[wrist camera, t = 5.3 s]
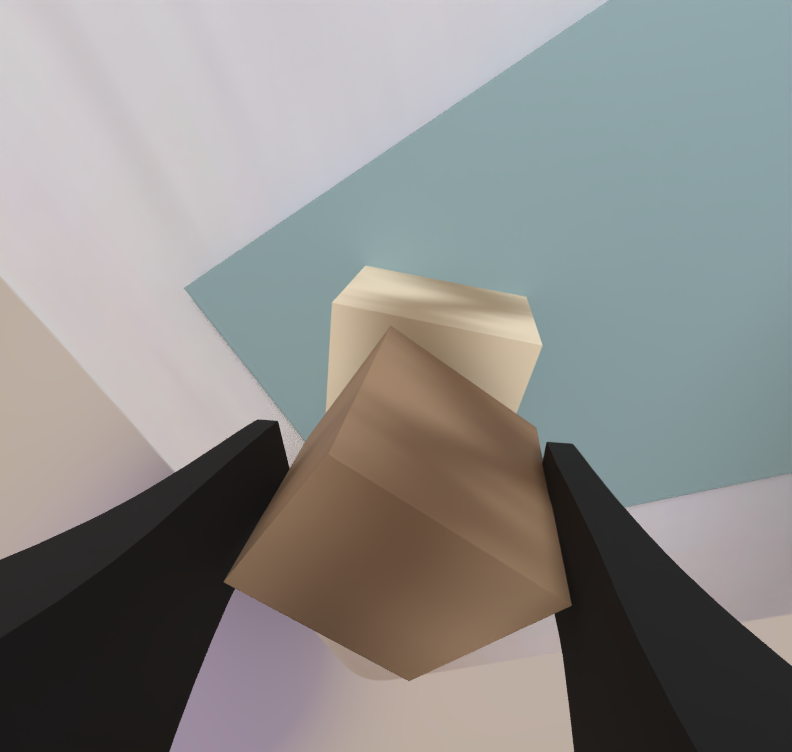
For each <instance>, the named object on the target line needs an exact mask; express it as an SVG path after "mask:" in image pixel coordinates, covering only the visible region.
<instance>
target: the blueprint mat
mask: <svg viewBox="0 0 792 752" xmlns="http://www.w3.org/2000/svg"><path fill="white" fill-rule="evenodd" d="M365 266H370V267H375V268H380V269H385V270H390V271H396V272H401V273H406V274H411V275H416V276H421V277H426V278H432V279H437V280H442V281H447V282H452V283H457V284H462V285H468V286H473V287H478V288H483V289H488V290H493V291H499V292H504V293H509V294H514V295H519V296H524V297H527V300H528V303H529V306H530V309H531V312H532V315H533V318H534V321H535V324H536V327H537V330H538V333H539V336H540V339H541V342H542V345H543V346H542V348H541V351H540V354H539V356H538V359H537V361H536V364H535V367H534V369H533V372H532V374H531V377H530V380H529V382H528V385H527V387H526V390H525V393H524V395H523V398H522V400H521V403H520V406H519V408H518V411H517V413H516V414H518V415H519V416H520V417H522V418H523V419H525V420H526V421H528V422H529V423H530V424H532V425H533V426H535V427H536V428H537V433H538V438H539V443H540V448H541V453H542V458H543V457H544V452H545V446H546V442H558V443H571V444H573V445H574V446H575V447H576V448H577V449H578V450H579V452H580V453H581V454H582V456H583V457H584V458H585V459H586V461H587V462H588V463H589V465H590V466H591V467H592V469H593V470H594V471H595V472H596V474H597V475H598V476H599V477H600V479H601V480H602V481H603V482H604V484H605V485H606V486H607V487H608V489H609V490H610V491H611V492H612V493H613V495H614V496H615V497H616V498H617V499H618V501H619V502H620V503H621V504H622V505H623V506H624V507H628V506H633V505H638V504H643V503H647V502H652V501H657V500H662V499H667V498H672V497H677V496H681V495H686V494H691V493H696V492H701V491H706V490H711V489H715V488H720V487H725V486H730V485H735V484H740V483H745V482H749V481H754V480H759V479H764V478H769V477H774V476H778V475H783V474H788V473H792V0H609V1H607V2H606V3H604V4H603V5H602V6H600V7H599V8H597V9H596V10H594V11H593V12H591V13H590V14H588V15H587V16H585V17H584V18H582V19H581V20H579V21H578V22H576V23H575V24H573V25H572V26H570V27H569V28H568V29H566V30H565V31H563V32H562V33H560V34H559V35H557V36H556V37H554V38H553V39H551V40H550V41H548V42H547V43H545V44H544V45H542V46H541V47H539V48H538V49H536V50H535V51H534V52H532V53H531V54H529V55H528V56H526V57H525V58H523V59H522V60H520V61H519V62H517V63H516V64H514V65H513V66H511V67H510V68H508V69H507V70H505V71H504V72H503V73H501V74H500V75H498V76H497V77H495V78H494V79H492V80H491V81H489V82H488V83H486V84H485V85H483V86H482V87H480V88H479V89H477V90H476V91H474V92H473V93H471V94H470V95H469V96H467V97H466V98H464V99H463V100H461V101H460V102H458V103H457V104H455V105H454V106H452V107H451V108H449V109H448V110H446V111H445V112H443V113H442V114H440V115H439V116H437V117H436V118H435V119H433V120H432V121H430V122H429V123H427V124H426V125H424V126H423V127H421V128H420V129H418V130H417V131H415V132H414V133H412V134H411V135H409V136H408V137H406V138H405V139H403V140H402V141H401V142H399V143H398V144H396V145H395V146H393V147H392V148H390V149H389V150H387V151H386V152H384V153H383V154H381V155H380V156H378V157H377V158H375V159H374V160H372V161H371V162H370V163H368V164H367V165H365V166H364V167H362V168H361V169H359V170H358V171H356V172H355V173H353V174H352V175H350V176H349V177H347V178H346V179H344V180H343V181H341V182H340V183H338V184H337V185H336V186H334V187H333V188H331V189H330V190H328V191H327V192H325V193H324V194H322V195H321V196H319V197H318V198H316V199H315V200H313V201H312V202H310V203H309V204H307V205H306V206H304V207H303V208H302V209H300V210H299V211H297V212H296V213H294V214H293V215H291V216H290V217H288V218H287V219H285V220H284V221H282V222H281V223H279V224H278V225H276V226H275V227H273V228H272V229H270V230H269V231H268V232H266V233H265V234H263V235H262V236H260V237H259V238H257V239H256V240H254V241H253V242H251V243H250V244H248V245H247V246H245V247H244V248H242V249H241V250H239V251H238V252H237V253H235V254H234V255H232V256H231V257H229V258H228V259H226V260H225V261H223V262H222V263H220V264H219V265H217V266H216V267H214V268H213V269H211V270H210V271H208V272H207V273H205V274H204V275H203V276H201V277H200V278H198V279H197V280H195V281H194V282H192V283H191V284H189V285H188V286H186V287H185V288H184V289H185V290H186V291H187V293H188V294H189V295H190V297H191V298H192V299H193V300H194V302H195V303H196V304H197V305H198V307H199V308H200V309H201V310H202V312H203V313H204V314H205V316H206V317H207V318H208V319H209V321H210V322H211V323H212V324H213V326H214V327H215V328H216V329H217V331H218V332H219V333H220V334H221V336H222V337H223V338H224V340H225V341H226V342H227V343H228V345H229V346H230V347H231V348H232V350H233V351H234V352H235V353H236V355H237V356H238V357H239V358H240V360H241V361H242V362H243V364H244V365H245V366H246V367H247V369H248V370H249V371H250V372H251V374H252V375H253V376H254V377H255V379H256V380H257V381H258V382H259V384H260V385H261V386H262V388H263V389H264V390H265V391H266V393H267V394H268V395H269V396H270V398H271V399H272V400H273V401H274V403H275V404H276V405H277V406H278V408H279V409H280V410H281V412H282V413H283V414H284V415H285V417H286V418H287V419H288V420H289V422H290V423H291V424H292V425H293V427H294V428H295V429H296V430H297V432H298V433H299V434H300V436H301V437H302V438H303V439H304V441H305V442H306V440H307V438H308V437H309V435H310V434H311V432H312V431H313V430H314V428H315V427H316V426H317V424H318V423H319V422H320V420H321V419H322V418H323V416H324V415H325V414H326V398H327V380H328V363H329V345H330V328H331V310H332V302H333V301H334V300H335V299H336V298H337V296H338V295H339V294H340V293H341V292H342V291H343V290H344V289H345V288H346V287H347V285H348V284H349V283H350V282H351V281H352V280H353V279H354V278H355V277H356V275H357V274H358V273H359V272H360V271H361V270H362V269H363V268H364V267H365Z"/></svg>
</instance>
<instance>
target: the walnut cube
mask: <svg viewBox="0 0 792 752" xmlns="http://www.w3.org/2000/svg"><path fill="white" fill-rule="evenodd" d="M542 462H543V458H542V453H541V448H540V443H539V438H538V433H537V428H536V427H535V426H533V425H532V424H530V423H529V422H528V421H526V420H525V419H523V418H522V417H520V416H519V415H518V414H516V413H515V412H513V411H512V410H511V409H509V408H508V407H506V406H505V405H503V404H502V403H501V402H499V401H498V400H496V399H495V398H493V397H492V396H491V395H489V394H488V393H486V392H485V391H483V390H482V389H481V388H479V387H478V386H476V385H475V384H473V383H472V382H471V381H469V380H468V379H466V378H465V377H463V376H462V375H461V374H459V373H458V372H456V371H455V370H454V369H452V368H451V367H449V366H448V365H446V364H445V363H444V362H442V361H441V360H439V359H438V358H436V357H435V356H434V355H432V354H431V353H429V352H428V351H426V350H425V349H424V348H422V347H421V346H419V345H418V344H416V343H415V342H414V341H412V340H411V339H409V338H408V337H407V336H405V335H404V334H402V333H401V332H399V331H398V330H397V329H395V328H394V327H392V326H390V327H389V329H388V330H387V331H386V333H385V334H384V335H383V337H382V338H381V339H380V341H379V342H378V344H377V345H376V346H375V348H374V349H373V350H372V352H371V353H370V354H369V356H368V357H367V358H366V360H365V361H364V362H363V364H362V365H361V366H360V368H359V369H358V370H357V372H356V373H355V375H354V376H353V377H352V379H351V380H350V381H349V383H348V384H347V385H346V387H345V388H344V389H343V391H342V392H341V393H340V395H339V396H338V397H337V399H336V400H335V401H334V403H333V404H332V406H331V407H330V408H329V410H328V411H327V412H326V414H325V415H324V416H323V418H322V419H321V420H320V422H319V423H318V424H317V426H316V427H315V428H314V430H313V431H312V432H311V434H310V435H309V437H308V438H307V440H306V442H305V443H304V445H303V447H302V448H301V450H300V452H299V454H298V455H297V457H296V459H295V460H294V462H293V464H292V466H291V467H290V469H289V471H288V473H287V474H286V476H285V478H284V480H283V481H282V483H281V485H280V486H279V488H278V490H277V492H276V493H275V495H274V497H273V498H272V500H271V502H270V503H269V505H268V507H267V508H266V510H265V512H264V513H263V515H262V517H261V519H260V520H259V522H258V524H257V525H256V527H255V529H254V531H253V532H252V534H251V536H250V537H249V539H248V541H247V543H246V544H245V546H244V548H243V549H242V551H241V553H240V555H239V556H238V558H237V560H236V561H235V563H234V565H233V567H232V568H231V570H230V572H229V573H228V575H227V577H226V578H225V580H224V583H226V584H228V585H230V586H232V587H234V588H235V589H237V590H239V591H241V592H243V593H245V594H247V595H249V596H250V597H252V598H254V599H256V600H258V601H260V602H262V603H264V604H266V605H267V606H269V607H271V608H273V609H275V610H277V611H279V612H280V613H282V614H284V615H286V616H288V617H290V618H292V619H294V620H295V621H297V622H299V623H301V624H303V625H305V626H307V627H309V628H310V629H312V630H314V631H316V632H318V633H320V634H322V635H323V636H325V637H327V638H329V639H331V640H333V641H335V642H337V643H338V644H340V645H342V646H344V647H346V648H348V649H350V650H352V651H353V652H355V653H357V654H359V655H361V656H363V657H365V658H367V659H368V660H370V661H372V662H374V663H376V664H378V665H380V666H382V667H383V668H385V669H387V670H389V671H391V672H393V673H395V674H397V675H398V676H400V677H402V678H404V679H406V680H408V681H410V680H412V679H415V678H417V677H419V676H421V675H423V674H425V673H428V672H430V671H432V670H434V669H436V668H438V667H440V666H443V665H445V664H447V663H449V662H451V661H453V660H456V659H458V658H460V657H462V656H464V655H466V654H468V653H471V652H473V651H475V650H477V649H479V648H481V647H484V646H486V645H488V644H490V643H492V642H494V641H496V640H499V639H501V638H503V637H505V636H507V635H509V634H512V633H514V632H516V631H518V630H520V629H522V628H524V627H527V626H529V625H531V624H533V623H535V622H537V621H540V620H542V619H544V618H546V617H548V616H550V615H552V614H555V613H557V612H559V611H561V610H563V609H565V608H568V607H570V606H572V604H571V599H570V594H569V589H568V584H567V579H566V574H565V569H564V563H563V558H562V553H561V548H560V543H559V538H558V533H557V528H556V523H555V518H554V513H553V508H552V504H551V501H550V498H549V494H548V489H547V484H546V479H545V475H544V470H543V465H542Z"/></svg>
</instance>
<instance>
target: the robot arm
mask: <svg viewBox="0 0 792 752" xmlns="http://www.w3.org/2000/svg"><path fill="white" fill-rule="evenodd" d="M542 465H543V470H544V475H545V479H546V484H547V489H548V494H549V498H550V501H551V504H552V508H553V513H554V518H555V523H556V528H557V533H558V538H559V543H560V548H561V553H562V558H563V563H564V569H565V574H566V579H567V584H568V589H569V594H570V599H571V604H572V606H570V607H568V608H565V609H563V610H561V611H559V612H557V613H555V618H556V623H557V627H558V632H559V637H560V643H561V648H562V654H563V661H564V668H565V677H566V685H567V693H568V700H569V709H570V717H571V727H572V735H573V744H574V752H792V666H791V665H790V664H789V663H787V662H786V661H785V660H784V659H783V658H781V657H780V656H779V655H777V653H775V652H774V651H773V650H772V649H771V648H769V647H768V646H767V645H766V644H764V643H763V642H762V641H761V640H760V639H759V638H757V637H756V636H755V635H754V634H753V633H752V632H750V631H749V630H748V629H747V628H746V627H744V626H743V625H742V624H741V623H740V622H739V621H737V620H736V619H735V618H734V617H733V616H732V615H731V614H729V613H728V612H727V611H726V610H725V609H724V608H723V607H722V606H720V605H719V604H718V603H717V602H716V601H715V600H714V599H713V598H712V597H711V596H710V595H709V594H707V593H706V592H705V591H704V590H703V589H702V588H701V587H700V586H699V585H698V584H697V583H696V582H695V581H694V580H693V579H691V578H690V577H689V576H688V575H687V574H686V573H685V572H684V571H683V570H682V569H681V568H680V567H679V566H678V565H677V564H676V563H675V562H674V561H673V560H672V559H671V558H670V557H669V556H668V555H667V554H666V553H665V552H664V551H663V550H662V549H661V548H660V546H659V545H658V544H657V543H656V542H655V541H654V540H653V539H652V538H651V537H650V536H649V535H648V534H647V533H646V531H645V530H644V529H643V528H642V527H641V526H640V525H639V524H638V523H637V521H636V520H635V519H634V518H633V517H632V516H631V515H630V513H629V512H628V511H627V510H626V509H625V508H624V506H623V505H622V504H621V503H620V502H619V501H618V499H617V498H616V497H615V496H614V495H613V493H612V492H611V491H610V490H609V489H608V487H607V486H606V485H605V484H604V482H603V481H602V480H601V479H600V477H599V476H598V475H597V474H596V472H595V471H594V470H593V469H592V467H591V466H590V465H589V463H588V462H587V461H586V459H585V458H584V457H583V456H582V454H581V453H580V452H579V450H578V449H577V448H576V447H575V446H574V445H573V444H571V443H558V442H546V446H545V452H544V457H543V462H542ZM288 471H289V465H288V461H287V457H286V452H285V448H284V444H283V440H282V436H281V432H280V428H279V424H278V421H271V420H256V421H254V422H253V423H251V424H249V425H248V426H246V427H244V428H243V429H241V430H240V431H238V432H237V433H235V434H234V435H232V436H231V437H229V438H228V439H226V440H225V441H223V442H222V443H220V444H219V445H217V446H216V447H214V448H213V449H211V450H209V451H208V452H206V453H205V454H203V455H202V456H200V457H199V458H197V459H196V460H194V461H193V462H191V463H190V464H188V465H187V466H185V467H183V468H182V469H180V470H178V471H177V472H175V473H173V474H172V475H170V476H169V477H167V478H165V479H164V480H162V481H161V482H159V483H157V484H156V485H154V486H152V487H151V488H149V489H147V490H146V491H144V492H142V493H140V494H139V495H137V496H135V497H133V498H131V499H129V500H128V501H126V502H124V503H122V504H120V505H118V506H116V507H114V508H113V509H111V510H109V511H107V512H105V513H103V514H101V515H99V516H97V517H95V518H93V519H91V520H89V521H87V522H85V523H83V524H80V525H78V526H76V527H74V528H72V529H70V530H68V531H66V532H63V533H61V534H59V535H57V536H54V537H52V538H50V539H48V540H46V541H44V542H41V543H40V544H37V545H35V546H32V547H30V548H27V549H25V550H23V551H20V552H18V553H15V554H13V555H11V556H8V557H6V558H4V559H1V560H0V752H169V751H170V748H171V745H172V742H173V739H174V736H175V734H176V731H177V728H178V726H179V723H180V720H181V718H182V715H183V712H184V709H185V707H186V704H187V701H188V699H189V696H190V694H191V691H192V688H193V685H194V683H195V680H196V678H197V676H198V673H199V671H200V668H201V666H202V663H203V661H204V658H205V656H206V653H207V651H208V648H209V646H210V643H211V641H212V638H213V636H214V634H215V631H216V629H217V627H218V625H219V622H220V620H221V618H222V615H223V613H224V611H225V608H226V606H227V604H228V602H229V600H230V597H231V595H232V594H233V591H234V590H235V588H234V587H232V586H230V585H228V584H226V583H224V580H225V578H226V577H227V575H228V573H229V572H230V570H231V568H232V567H233V565H234V563H235V561H236V560H237V558H238V556H239V555H240V553H241V551H242V549H243V548H244V546H245V544H246V543H247V541H248V539H249V537H250V536H251V534H252V532H253V531H254V529H255V527H256V525H257V524H258V522H259V520H260V519H261V517H262V515H263V513H264V512H265V510H266V508H267V507H268V505H269V503H270V502H271V500H272V498H273V497H274V495H275V493H276V492H277V490H278V488H279V486H280V485H281V483H282V481H283V480H284V478H285V476H286V474H287V473H288Z"/></svg>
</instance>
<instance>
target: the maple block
mask: <svg viewBox="0 0 792 752" xmlns="http://www.w3.org/2000/svg"><path fill="white" fill-rule="evenodd" d="M390 326H392V327H394V328H395V329H397V330H398V331H399V332H401V333H402V334H404V335H405V336H407V337H408V338H409V339H411V340H412V341H414V342H415V343H416V344H418V345H419V346H421V347H422V348H424V349H425V350H426V351H428V352H429V353H431V354H432V355H434V356H435V357H436V358H438V359H439V360H441V361H442V362H444V363H445V364H446V365H448V366H449V367H451V368H452V369H454V370H455V371H456V372H458V373H459V374H461V375H462V376H463V377H465V378H466V379H468V380H469V381H471V382H472V383H473V384H475V385H476V386H478V387H479V388H481V389H482V390H483V391H485V392H486V393H488V394H489V395H491V396H492V397H493V398H495V399H496V400H498V401H499V402H501V403H502V404H503V405H505V406H506V407H508V408H509V409H511V410H512V411H513V412H515V413H517V411H518V408H519V406H520V403H521V400H522V398H523V395H524V393H525V390H526V387H527V385H528V382H529V380H530V377H531V374H532V372H533V369H534V367H535V364H536V361H537V359H538V356H539V354H540V351H541V348H542V346H543V345H542V342H541V339H540V336H539V333H538V330H537V327H536V324H535V321H534V318H533V315H532V312H531V309H530V306H529V303H528V300H527V297H524V296H519V295H514V294H509V293H504V292H499V291H493V290H488V289H483V288H478V287H473V286H468V285H462V284H457V283H452V282H447V281H442V280H437V279H432V278H426V277H421V276H416V275H411V274H406V273H401V272H396V271H390V270H385V269H380V268H375V267H370V266H365V267H364V268H363V269H362V270H361V271H360V272H359V273H358V274H357V275H356V277H355V278H354V279H353V280H352V281H351V282H350V283H349V284H348V285H347V287H346V288H345V289H344V290H343V291H342V292H341V293H340V294H339V295H338V296H337V298H336V299H335V300H334V301H333V302H332V310H331V328H330V345H329V363H328V380H327V398H326V412H327V411H328V410H329V408H330V407H331V406H332V404H333V403H334V401H335V400H336V399H337V397H338V396H339V395H340V393H341V392H342V391H343V389H344V388H345V387H346V385H347V384H348V383H349V381H350V380H351V379H352V377H353V376H354V375H355V373H356V372H357V370H358V369H359V368H360V366H361V365H362V364H363V362H364V361H365V360H366V358H367V357H368V356H369V354H370V353H371V352H372V350H373V349H374V348H375V346H376V345H377V344H378V342H379V341H380V339H381V338H382V337H383V335H384V334H385V333H386V331H387V330H388V329H389V327H390Z"/></svg>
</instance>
